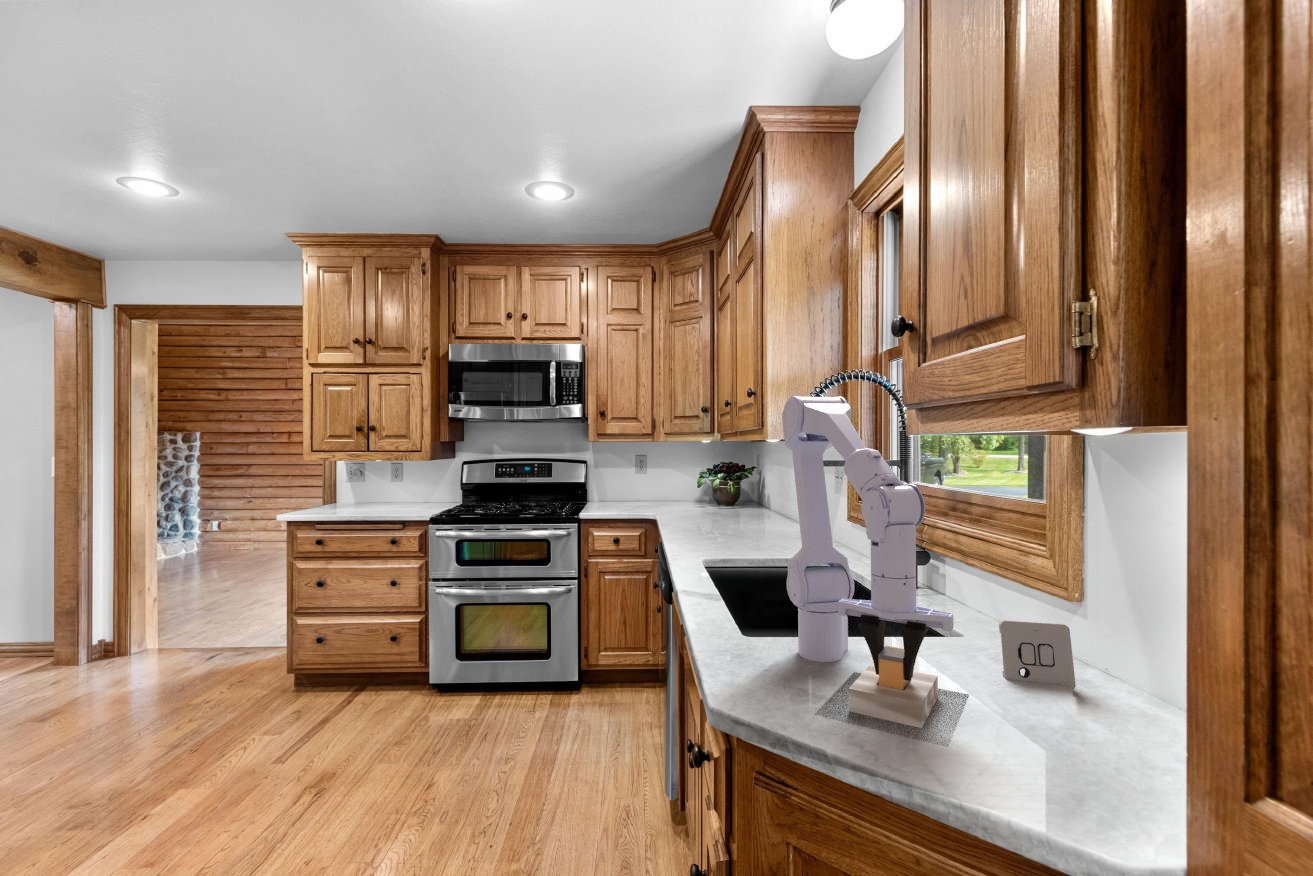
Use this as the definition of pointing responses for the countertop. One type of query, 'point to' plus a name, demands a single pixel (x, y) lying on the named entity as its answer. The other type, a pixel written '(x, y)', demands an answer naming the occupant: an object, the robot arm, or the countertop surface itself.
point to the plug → (892, 668)
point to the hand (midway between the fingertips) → (894, 675)
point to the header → (896, 702)
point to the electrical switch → (1037, 652)
